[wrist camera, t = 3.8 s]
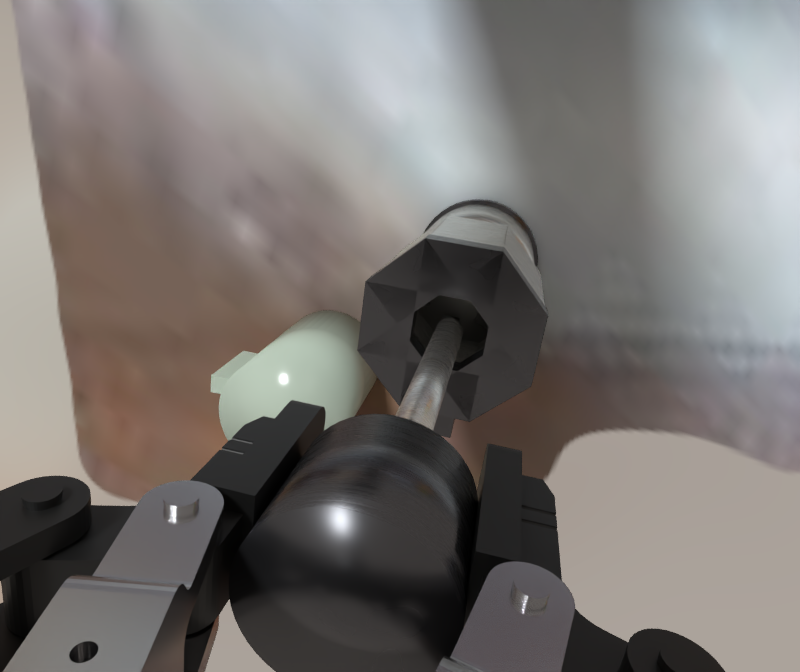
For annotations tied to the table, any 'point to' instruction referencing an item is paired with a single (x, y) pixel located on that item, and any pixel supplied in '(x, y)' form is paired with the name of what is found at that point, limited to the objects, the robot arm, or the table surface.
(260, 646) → the plunger
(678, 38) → the table surface
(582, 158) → the table surface
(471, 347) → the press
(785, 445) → the table surface
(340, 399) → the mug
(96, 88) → the table surface
